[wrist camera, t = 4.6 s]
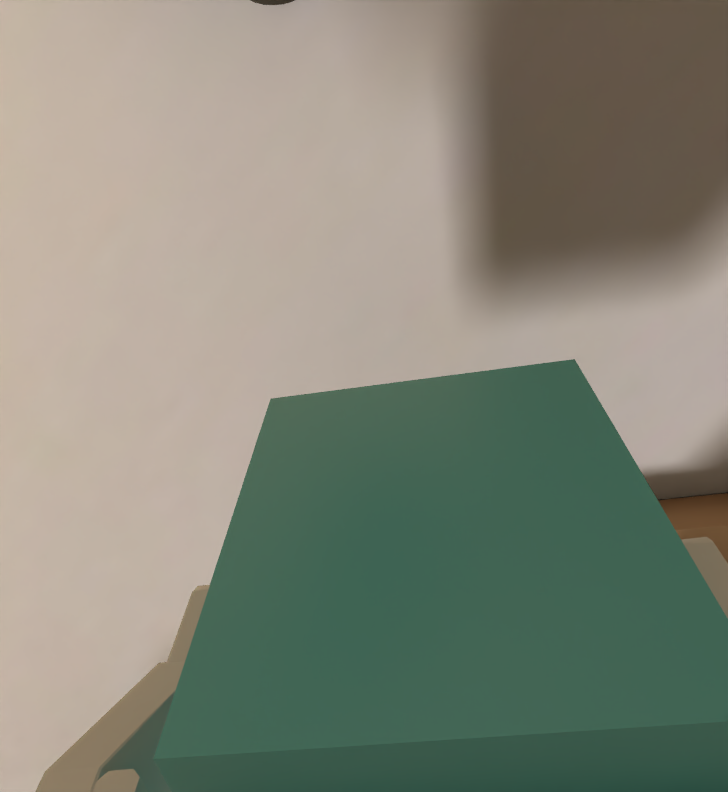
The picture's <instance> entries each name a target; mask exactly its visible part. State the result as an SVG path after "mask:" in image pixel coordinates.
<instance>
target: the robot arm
mask: <svg viewBox="0 0 728 792" xmlns="http://www.w3.org/2000/svg"><path fill="white" fill-rule="evenodd" d="M681 540H682V542H683V544H684V545H685V547H686V549H687V551H688V552H689V554H690V556H691V557H692V559H693V561H694V562H695V564H696V566H697V567H698V569H699V571H700V573H701V574H702V576H703V578H704V579H705V581H706V583H707V584H708V586H709V588H710V590H711V591H712V593H713V595H714V596H715V598H716V600H717V601H718V603H719V605H720V606H721V608H722V610H723V612H724V613H725V615H726V617H727V618H728V563H727V562H726V560H725V559H724V557H723V556H722V554H721V553H720V551H719V550H718V548H717V547H716V545H715V544H714V542H713V541H712V540H711V539H709V538H708V537H700V538H690V539H681ZM209 586H210V585H203V586H197V587H196V589H195V590H194V591H193V592H192V594H191V597H190V599H189V602H188V605H187V608H186V611H185V613H184V616H183V619H182V622H181V624H180V627H179V630H178V633H177V636H176V638H175V641H174V644H173V647H172V649H171V652H170V655H169V658H168V661H167V662H163V663H158V664H157V665H156V666H155V667H154V668H153V669H152V670H151V671H150V672H149V673H148V674H147V675H146V676H145V677H144V678H143V679H142V680H141V681H140V682H139V683H138V684H136V685H135V686H134V687H133V688H132V689H131V690H130V691H129V692H128V693H127V694H126V695H125V696H124V697H123V698H122V699H121V700H120V701H119V702H118V703H117V704H116V705H114V706H113V707H112V708H111V709H110V710H109V711H108V712H107V713H106V714H105V715H104V716H103V717H102V718H101V719H100V720H99V721H98V722H97V723H96V724H95V725H94V726H92V727H91V728H90V729H89V730H88V731H87V732H86V733H85V734H84V735H83V736H82V737H81V738H80V739H79V740H78V741H77V742H76V743H75V744H74V745H73V746H72V747H70V748H69V749H68V750H67V751H66V752H65V753H64V754H63V755H62V756H61V757H60V758H59V759H58V760H57V761H56V762H55V763H54V764H53V765H52V766H51V767H50V768H49V769H47V770H46V771H45V773H44V775H43V777H42V779H41V781H40V783H39V785H38V788H37V790H36V792H172V791H171V790H170V788H169V786H168V784H167V783H166V781H165V779H164V777H163V776H162V774H161V772H160V770H159V769H158V767H157V765H156V763H155V762H154V760H153V758H154V755H155V752H156V749H157V746H158V743H159V739H160V736H161V733H162V730H163V727H164V724H165V721H166V718H167V715H168V712H169V709H170V706H171V703H172V700H173V697H174V694H175V690H176V687H177V684H178V681H179V678H180V675H181V672H182V669H183V666H184V663H185V660H186V657H187V654H188V651H189V648H190V645H191V641H192V638H193V635H194V632H195V629H196V626H197V623H198V620H199V617H200V614H201V611H202V608H203V605H204V602H205V599H206V596H207V592H208V589H209Z"/></svg>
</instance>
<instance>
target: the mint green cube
mask: <svg viewBox="0 0 728 792" xmlns="http://www.w3.org/2000/svg"><path fill="white" fill-rule="evenodd" d="M153 760H154V762H155V763H156V765H157V767H158V769H159V770H160V772H161V774H162V776H163V777H164V779H165V781H166V783H167V784H168V786H169V788H170V790H171V791H172V792H728V618H727V617H726V615H725V613H724V612H723V610H722V608H721V606H720V605H719V603H718V601H717V600H716V598H715V596H714V595H713V593H712V591H711V590H710V588H709V586H708V584H707V583H706V581H705V579H704V578H703V576H702V574H701V573H700V571H699V569H698V567H697V566H696V564H695V562H694V561H693V559H692V557H691V556H690V554H689V552H688V551H687V549H686V547H685V545H684V544H683V542H682V540H681V539H680V537H679V535H678V534H677V532H676V530H675V529H674V527H673V525H672V523H671V522H670V520H669V518H668V517H667V515H666V513H665V512H664V510H663V508H662V507H661V505H660V503H659V501H658V500H657V498H656V496H655V495H654V493H653V491H652V490H651V488H650V486H649V485H648V483H647V481H646V479H645V478H644V476H643V474H642V473H641V471H640V469H639V468H638V466H637V464H636V463H635V461H634V459H633V457H632V456H631V454H630V452H629V451H628V449H627V447H626V446H625V444H624V442H623V441H622V439H621V437H620V435H619V434H618V432H617V430H616V429H615V427H614V425H613V424H612V422H611V420H610V418H609V417H608V415H607V413H606V412H605V410H604V408H603V407H602V405H601V403H600V402H599V400H598V398H597V396H596V395H595V393H594V391H593V390H592V388H591V386H590V385H589V383H588V381H587V380H586V378H585V376H584V374H583V373H582V371H581V369H580V368H579V366H578V364H577V363H576V361H575V359H573V360H566V361H558V362H550V363H542V364H535V365H527V366H519V367H512V368H504V369H496V370H489V371H481V372H473V373H465V374H458V375H450V376H442V377H435V378H427V379H419V380H412V381H404V382H396V383H389V384H381V385H373V386H365V387H358V388H350V389H342V390H335V391H327V392H319V393H312V394H304V395H296V396H288V397H281V398H273V399H271V400H270V403H269V406H268V409H267V412H266V415H265V418H264V421H263V424H262V427H261V430H260V433H259V436H258V439H257V442H256V446H255V449H254V452H253V455H252V458H251V461H250V464H249V467H248V470H247V473H246V476H245V479H244V482H243V485H242V488H241V491H240V495H239V498H238V501H237V504H236V507H235V510H234V513H233V516H232V519H231V522H230V525H229V528H228V531H227V534H226V537H225V540H224V544H223V547H222V550H221V553H220V556H219V559H218V562H217V565H216V568H215V571H214V574H213V577H212V580H211V583H210V586H209V589H208V592H207V596H206V599H205V602H204V605H203V608H202V611H201V614H200V617H199V620H198V623H197V626H196V629H195V632H194V635H193V638H192V641H191V645H190V648H189V651H188V654H187V657H186V660H185V663H184V666H183V669H182V672H181V675H180V678H179V681H178V684H177V687H176V690H175V694H174V697H173V700H172V703H171V706H170V709H169V712H168V715H167V718H166V721H165V724H164V727H163V730H162V733H161V736H160V739H159V743H158V746H157V749H156V752H155V755H154V758H153Z"/></svg>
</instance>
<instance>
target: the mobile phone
mask: <svg viewBox="0 0 728 792" xmlns="http://www.w3.org/2000/svg"><path fill="white" fill-rule="evenodd" d="M251 1H253V2H255V3H259V4H263V5H279V4H285V3H289V2H292V1H294V0H251Z"/></svg>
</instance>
